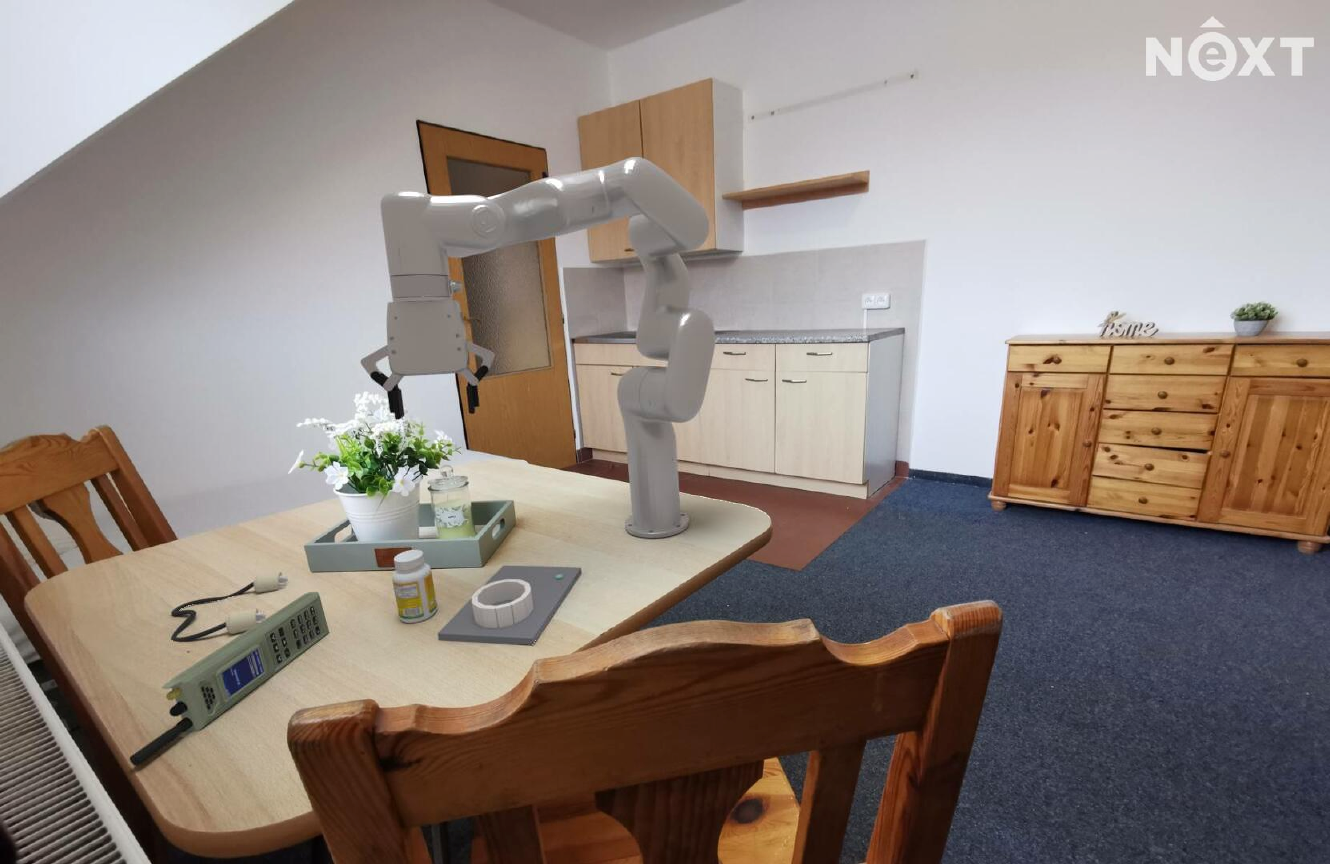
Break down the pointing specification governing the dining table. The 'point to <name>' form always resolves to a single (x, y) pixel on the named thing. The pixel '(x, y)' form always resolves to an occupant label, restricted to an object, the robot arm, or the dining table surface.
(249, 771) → the dining table surface
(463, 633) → the charging dock
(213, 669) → the handheld radio
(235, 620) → the cable
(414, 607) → the supplement bottle
